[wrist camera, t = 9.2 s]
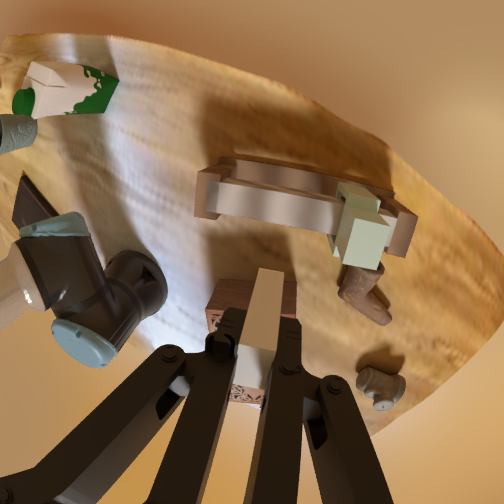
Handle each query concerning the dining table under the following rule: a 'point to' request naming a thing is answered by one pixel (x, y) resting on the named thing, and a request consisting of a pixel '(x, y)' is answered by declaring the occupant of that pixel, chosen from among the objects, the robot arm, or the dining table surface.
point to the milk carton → (63, 90)
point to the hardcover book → (30, 205)
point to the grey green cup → (16, 132)
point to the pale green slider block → (359, 228)
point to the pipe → (364, 293)
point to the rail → (298, 184)
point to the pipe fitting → (381, 387)
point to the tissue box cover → (240, 297)
